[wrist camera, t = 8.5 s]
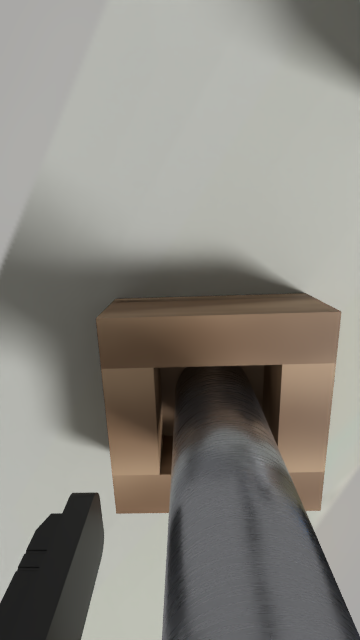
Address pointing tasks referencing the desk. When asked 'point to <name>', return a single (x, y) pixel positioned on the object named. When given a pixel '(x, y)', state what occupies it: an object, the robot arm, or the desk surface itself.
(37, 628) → the robot arm
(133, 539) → the desk surface
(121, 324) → the bore block
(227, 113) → the desk surface
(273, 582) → the peg
